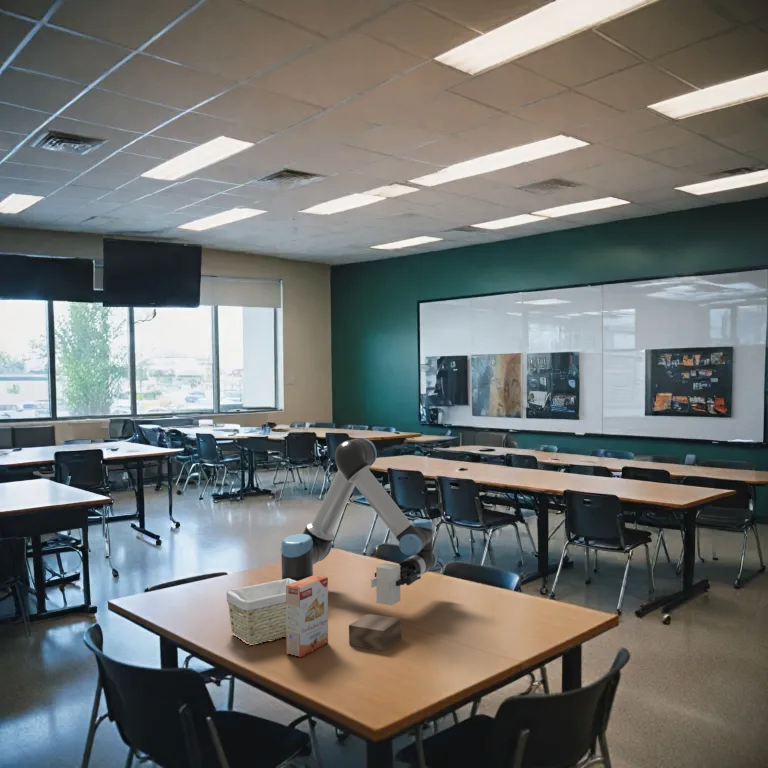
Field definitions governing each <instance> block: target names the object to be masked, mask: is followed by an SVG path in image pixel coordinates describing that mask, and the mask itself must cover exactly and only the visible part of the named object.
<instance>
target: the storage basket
mask: <svg viewBox="0 0 768 768" xmlns="http://www.w3.org/2000/svg"><path fill="white" fill-rule="evenodd" d="M294 582H297V581H295V580H292V579H290V578H287V579H283V580H282V579H278V580H273V581H268V582H264V583H258V584H254V585H249V586H244V587H238V588H233V589H229V590H228V589H227V591H226V592H225V593H226V602H227V604H228V613H229V621H230V622H229V623H230V627H231V634H232V633H234V634H235V635H237V636H238V637H240V638H241V639H243V640H245V641H246V642H249V644H255V643H260V642H265V641H268V640H273V641H275V640H274V639H276V640H279V639H278V638H280V639H283V638H282V637H285V638H286V585H289V584H291V583H294Z"/></svg>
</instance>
